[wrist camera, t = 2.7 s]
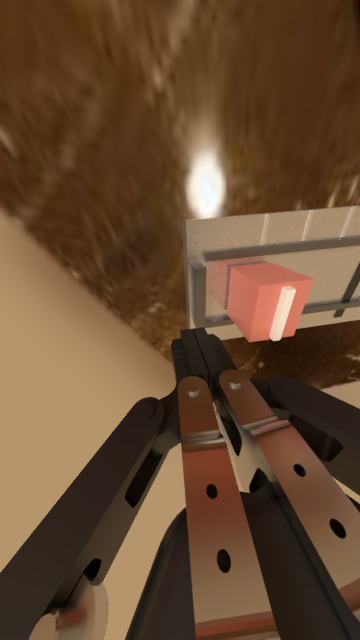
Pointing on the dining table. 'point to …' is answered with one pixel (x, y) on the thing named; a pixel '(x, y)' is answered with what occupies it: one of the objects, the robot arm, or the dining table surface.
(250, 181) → the dining table surface
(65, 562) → the robot arm
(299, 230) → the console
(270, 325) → the fader knob
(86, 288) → the dining table surface
